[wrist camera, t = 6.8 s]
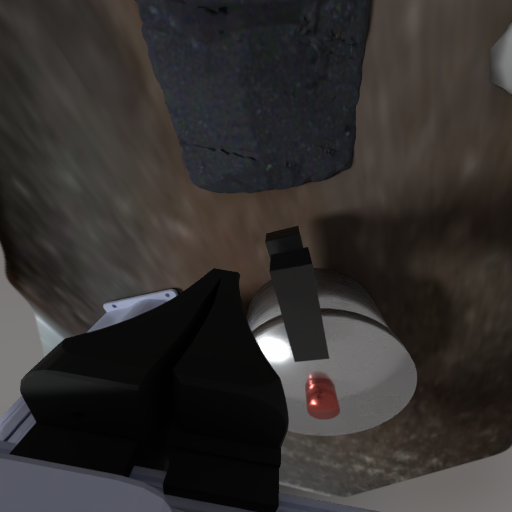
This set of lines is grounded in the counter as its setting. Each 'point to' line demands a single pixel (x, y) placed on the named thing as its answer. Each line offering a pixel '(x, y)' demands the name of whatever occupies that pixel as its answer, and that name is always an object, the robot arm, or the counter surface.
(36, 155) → the counter surface
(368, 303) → the pot
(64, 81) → the counter surface
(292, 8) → the dark slate chunk
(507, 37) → the salt shaker
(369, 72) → the counter surface
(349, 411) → the lid
